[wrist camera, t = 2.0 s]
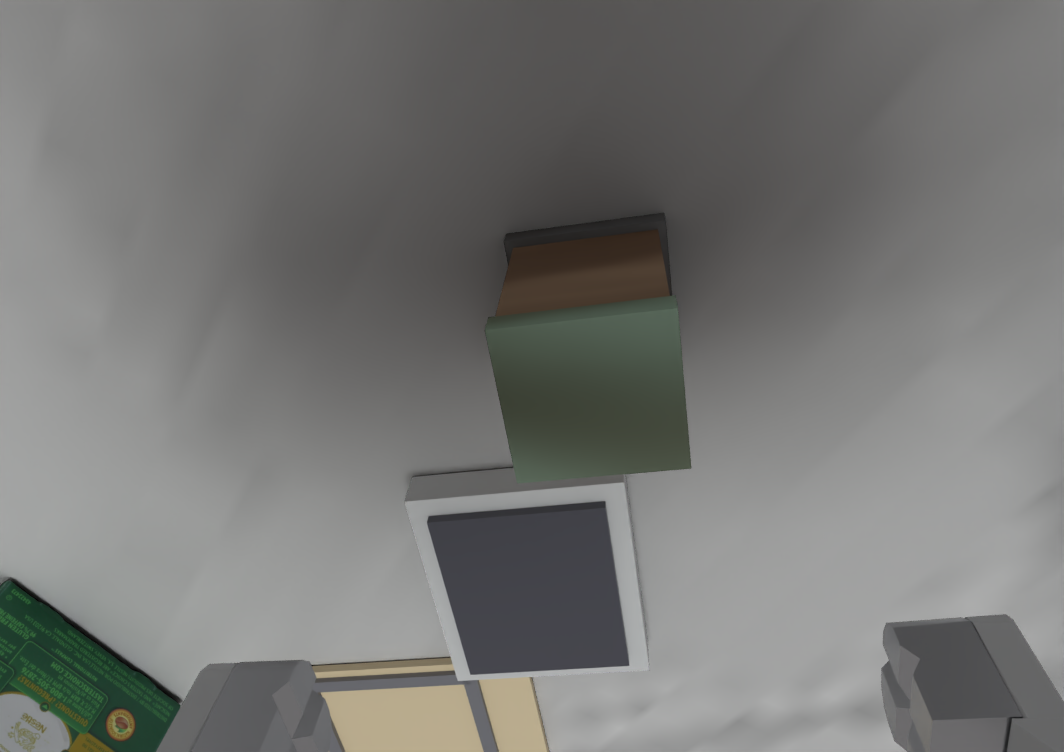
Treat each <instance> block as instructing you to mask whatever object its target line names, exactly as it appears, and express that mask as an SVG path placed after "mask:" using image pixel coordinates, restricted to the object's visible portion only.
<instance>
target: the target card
mask: <svg viewBox="0 0 1064 752" xmlns="http://www.w3.org/2000/svg"><path fill="white" fill-rule="evenodd" d="M312 668H313V670H314V673H315V675H316V677H317V678H316V680H315V683H314V686H313V688H312V690H314V691H315V692H316V693H318V694H319V695H321V696H322V697H323V698H325V700H326V703H327V705H328V708H329V711H330V717H331V724H332V729H331V740H330V748H329V752H549V748H548V744H547V740H546V736H545V732H544V727H543V723H542V719H541V715H540V710H539V706H538V702H537V698H536V693H535V689H534V685H533V681H532V677H521V678H504V679H486V680H468V681H458V680H457V677H456V674H455V670H454V667H453V664H452V660H451V658H438V659H422V660H405V661H388V662H372V663H355V664H338V665H322V666H312Z"/></svg>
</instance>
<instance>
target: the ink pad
mask: <svg viewBox="0 0 1064 752" xmlns="http://www.w3.org/2000/svg"><path fill="white" fill-rule="evenodd" d="M404 503H405V506H406V510H407V513H408V516H409V520H410V523H411V526H412V530H413V533H414V537H415V540H416V543H417V547H418V550H419V553H420V557H421V560H422V563H423V567H424V570H425V573H426V577H427V580H428V583H429V587H430V590H431V593H432V597H433V600H434V603H435V607H436V610H437V613H438V617H439V620H440V623H441V627H442V630H443V633H444V637H445V640H446V643H447V647H448V650H449V653H450V657H451V660H452V664H453V667H454V670H455V674H456V677H457V680H458V681H468V680H486V679H504V678H521V677H539V676H557V675H575V674H593V673H611V672H629V671H647V670H650V669H649V654H648V640H647V633H646V625H645V618H644V610H643V603H642V595H641V588H640V580H639V573H638V565H637V558H636V550H635V543H634V535H633V528H632V520H631V513H630V506H629V498H628V491H627V483H626V476H625V474H622V475H610V476H599V477H587V478H576V479H564V480H553V481H541V482H530V483H518V484H517V481H516V476H515V471H514V468H504V469H494V470H483V471H472V472H461V473H451V474H440V475H429V476H418V477H412V479H411V482H410V485H409V488H408V491H407V495H406V498H405V501H404Z"/></svg>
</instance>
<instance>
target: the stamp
mask: <svg viewBox="0 0 1064 752" xmlns="http://www.w3.org/2000/svg"><path fill="white" fill-rule="evenodd" d="M504 245H505V251H506V256H507V261H508V269H507V273H506V277H505V281H504V285H503V288H502V292H501V296H500V300H499V304H498V308H497V311H496V315H495V317H488V320H487V324H486V327H485V334H486V339H487V343H488V348H489V353H490V358H491V362H492V367H493V372H494V377H495V381H496V386H497V391H498V396H499V400H500V405H501V410H502V415H503V419H504V424H505V429H506V434H507V438H508V443H509V448H510V452H511V457H512V462H513V467H514V471H515V476H516V481H517V484H518V483H530V482H541V481H553V480H564V479H576V478H587V477H599V476H610V475H622V474H633V473H645V472H656V471H667V470H679V469H690V468H691V459H690V447H689V435H688V423H687V411H686V399H685V387H684V375H683V363H682V351H681V339H680V327H679V315H678V306H677V301H676V296H675V295H674V296H672V288H671V276H670V265H669V253H668V242H667V230H666V220H665V215H664V213H659V214H652V215H644V216H636V217H629V218H621V219H614V220H606V221H599V222H591V223H584V224H576V225H568V226H561V227H553V228H546V229H538V230H531V231H523V232H515V233H508V234H506V236H505V239H504Z"/></svg>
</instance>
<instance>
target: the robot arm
mask: <svg viewBox="0 0 1064 752" xmlns="http://www.w3.org/2000/svg"><path fill="white" fill-rule="evenodd" d="M883 646H884V649H885V651H886V654H887V657H888V659H889V661H888V662H887V663H886V664H885V665H884V666H883V667H882V668H881V688H882V696H883V703H884V709H885V713H886V717H887V720H888V724H889V727H890V730H891V733H892V735H893V738H894V741H895V742H896V743H897V744H899V745H900V746H901V747H902V748H904V749H905V750H906V751H907V752H1064V701H1063V700H1062V698H1061V696H1060V695H1059V693H1058V691H1057V690H1056V688H1055V687H1054V685H1053V683H1052V682H1051V680H1050V678H1049V677H1048V675H1047V674H1046V672H1045V670H1044V669H1043V667H1042V665H1041V664H1040V662H1039V661H1038V659H1037V657H1036V656H1035V654H1034V652H1033V651H1032V649H1031V648H1030V646H1029V644H1028V643H1027V641H1026V639H1025V638H1024V636H1023V635H1022V633H1021V631H1020V630H1019V628H1018V626H1017V625H1016V623H1015V622H1014V620H1013V619H1012V618H1010V617H1009V616H1008V615H1006V614H1003V615H989V616H975V617H965V618H962V617H960V618H946V619H932V620H918V621H904V622H891V623H886V625H885V628H884V631H883ZM316 678H317V677H316V675H315V673H314V670H313V668H312V666H311V664H310V662H309V661H305V660H285V661H257V662H240V663H218V664H209V665H208V666H206V667H205V668H204V669H203V670H201V671H200V673H199V675H198V676H197V678H196V680H195V682H194V684H193V685H192V687H191V689H190V691H189V693H188V695H187V696H186V698H185V700H184V702H183V704H182V705H181V707H180V709H179V711H178V713H177V714H176V716H175V718H174V720H173V722H172V724H171V725H170V727H169V729H168V731H167V733H166V734H165V736H164V738H163V740H162V742H161V744H160V745H159V747H158V749H157V751H156V752H329V748H330V740H331V729H332V724H331V717H330V711H329V708H328V705H327V703H326V700H325V698H323V697H322V696H321V695H319V694H318V693H316V692H315V691H314V690H312V688H313V686H314V683H315V680H316Z"/></svg>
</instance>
